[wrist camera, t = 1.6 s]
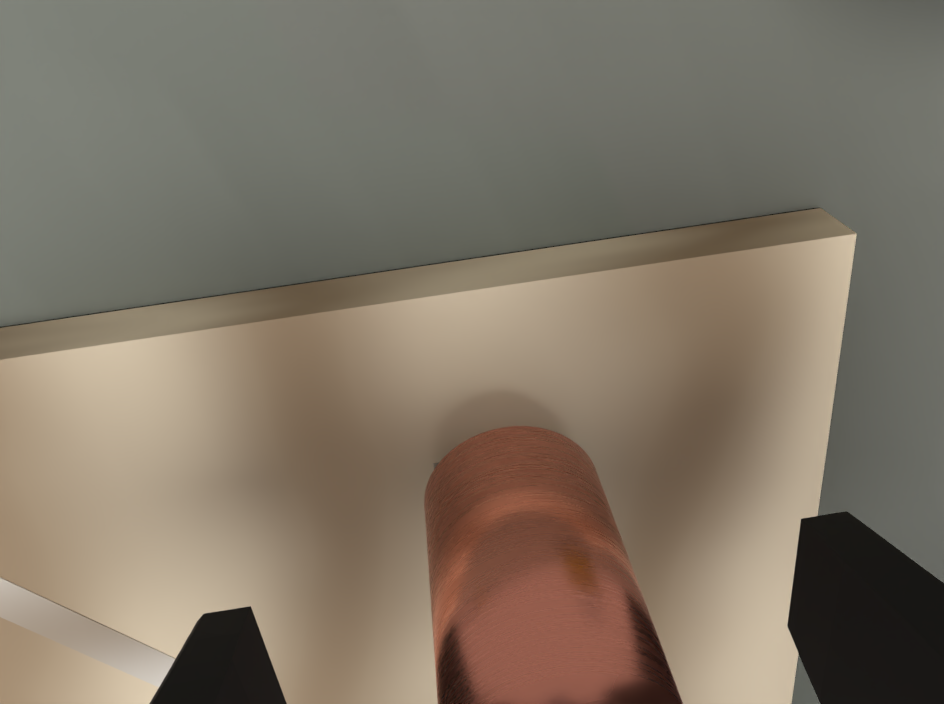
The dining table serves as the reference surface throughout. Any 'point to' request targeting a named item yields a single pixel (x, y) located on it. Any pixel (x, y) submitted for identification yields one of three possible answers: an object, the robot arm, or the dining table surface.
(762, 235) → the board
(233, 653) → the robot arm
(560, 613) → the lever
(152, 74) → the dining table surface
